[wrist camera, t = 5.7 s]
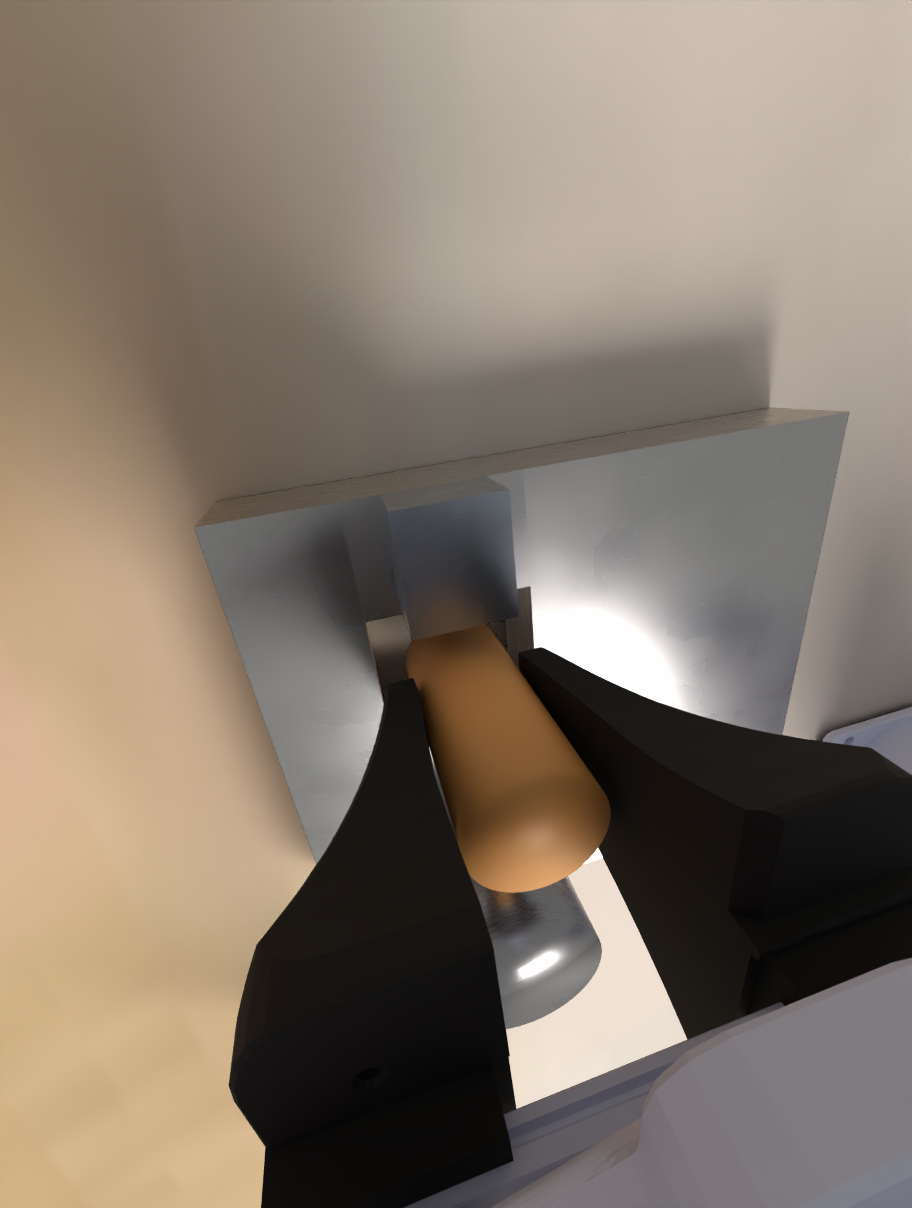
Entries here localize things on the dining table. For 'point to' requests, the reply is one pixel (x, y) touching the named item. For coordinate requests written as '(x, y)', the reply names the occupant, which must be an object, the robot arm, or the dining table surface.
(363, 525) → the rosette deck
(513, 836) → the orange rounded capsule
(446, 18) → the dining table surface
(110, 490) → the dining table surface
